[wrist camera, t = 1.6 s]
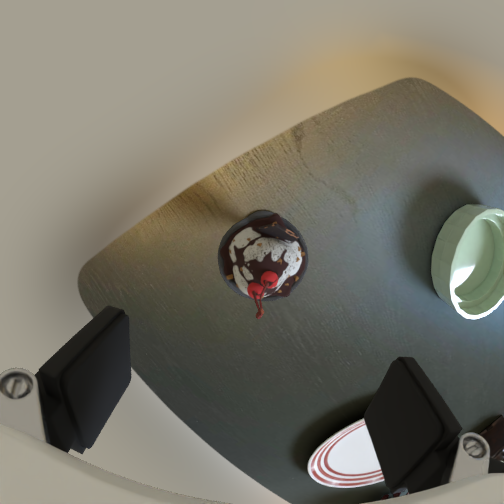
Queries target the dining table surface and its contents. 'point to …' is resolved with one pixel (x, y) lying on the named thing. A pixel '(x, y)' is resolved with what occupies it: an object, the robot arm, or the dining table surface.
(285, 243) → the sundae
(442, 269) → the bowl
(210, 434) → the dining table surface
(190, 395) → the dining table surface
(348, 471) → the dinner plate
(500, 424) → the coffee grinder
